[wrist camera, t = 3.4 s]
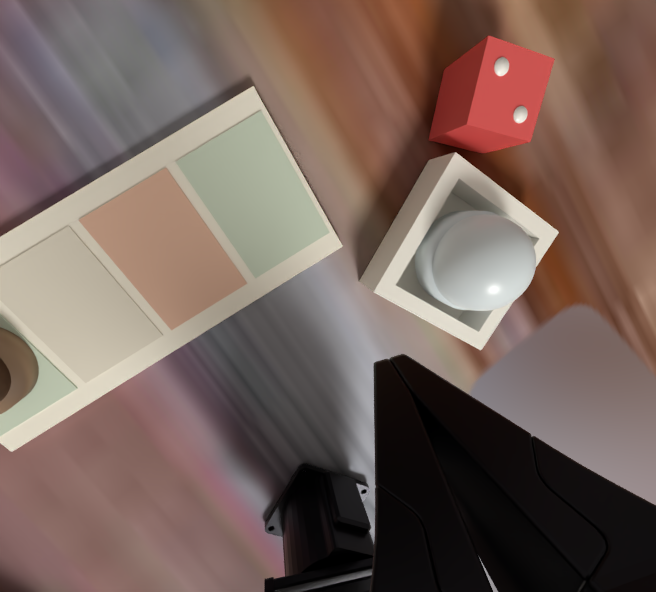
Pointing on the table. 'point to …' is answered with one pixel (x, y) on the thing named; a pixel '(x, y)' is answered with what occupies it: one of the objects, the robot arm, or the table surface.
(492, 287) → the dome
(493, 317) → the base
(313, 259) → the track board
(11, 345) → the pawn
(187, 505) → the table surface
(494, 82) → the red die
